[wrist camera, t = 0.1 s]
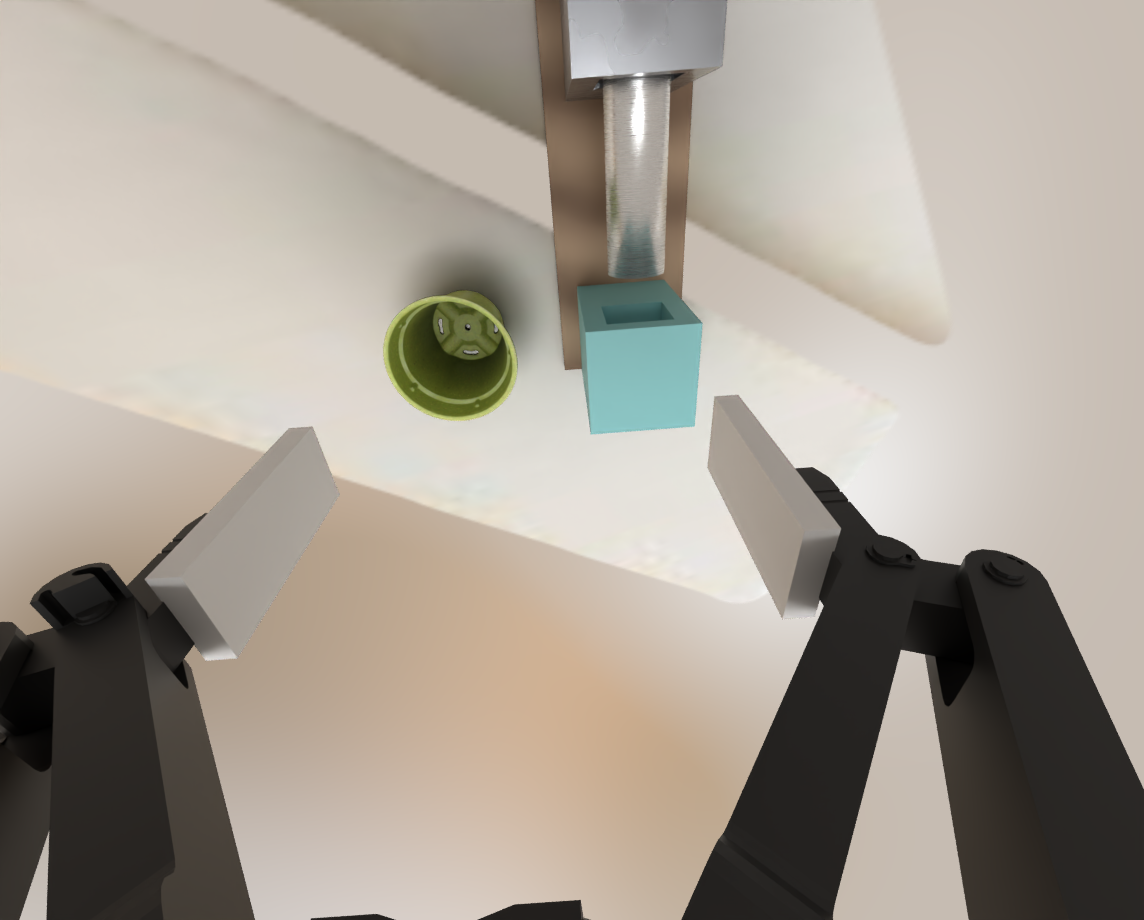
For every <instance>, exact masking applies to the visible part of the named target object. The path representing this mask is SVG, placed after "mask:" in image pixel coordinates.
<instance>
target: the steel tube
mask: <svg viewBox="0 0 1144 920" xmlns="http://www.w3.org/2000/svg"><path fill="white" fill-rule="evenodd" d="M670 80H671V74H661V75H649V76H637V77H625V78H613V79H603V107H604V144H605V181H606V218H607V255H608V275H609V276H611V277H614V278H621V279H640V278H649V277H654V276H658V275H661V274H663V273H664V266H665V235H666V204H667V173H668V142H669V111H670Z"/></svg>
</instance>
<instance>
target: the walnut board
mask: <svg viewBox="0 0 1144 920" xmlns="http://www.w3.org/2000/svg"><path fill="white" fill-rule="evenodd" d="M535 5H536V17H537V29H538V42H539V54H540V67H541V79H542V92H543V104H544V116H545V129H546V141H547V154H548V165H549V177H550V190H551V203H552V216H553V228H554V241H555V253H556V265H557V278H558V290H559V303H560V315H561V327H562V340H563V352H564V365H565V370H571V369H582V362H581V345H580V329H579V312H578V296H577V286H590V285H602V284H615V283H628V282H640V281H653V280H665V281H666V282H667V284H668V285H669V286H670V287H671V288H672V289H673V290H674V292H675V293H676V294H677V295H678V296H679V297H680V298H681V299H682V281H683V262H684V242H685V224H686V205H687V185H688V166H689V147H690V128H691V108H692V89H693V82H691V83H689V84H687V85H685V86H683V87H681V88H679V89H677V90H675V91H673V92H671V93H670V111H669V142H668V173H667V204H666V235H665V266H664V273H663V274H661V275H658V276H654V277H649V278H640V279H621V278H614V277H611V276H609V275H608V255H607V218H606V181H605V144H604V107H603V99H591V100H578V101H566V97H565V81H564V64H563V48H562V31H561V15H560V0H535Z"/></svg>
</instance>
